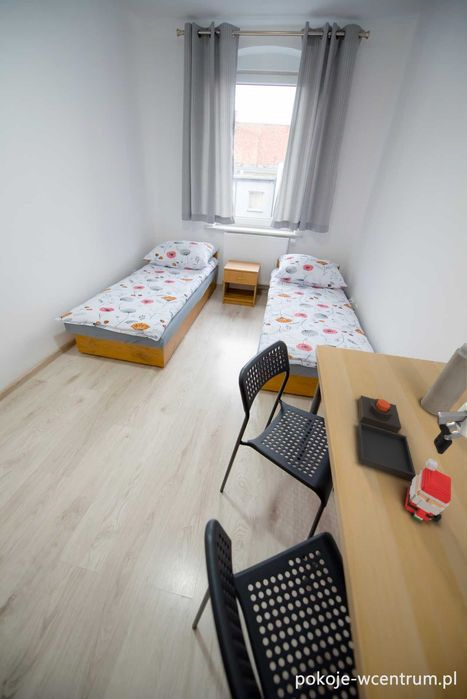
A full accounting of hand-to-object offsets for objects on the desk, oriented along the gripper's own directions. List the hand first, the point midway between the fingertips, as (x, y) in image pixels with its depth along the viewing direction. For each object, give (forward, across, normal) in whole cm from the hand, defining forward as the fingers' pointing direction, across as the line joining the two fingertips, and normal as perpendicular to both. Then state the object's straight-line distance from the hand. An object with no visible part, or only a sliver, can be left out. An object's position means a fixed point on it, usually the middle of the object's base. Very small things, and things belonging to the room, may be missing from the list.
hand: (464, 456), depth 55 cm
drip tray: (+19, +6, -13) cm, 24 cm away
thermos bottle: (+19, -13, -40) cm, 46 cm away
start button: (+15, +7, -27) cm, 31 cm away
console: (+19, +6, -27) cm, 33 cm away
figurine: (+19, -1, 0) cm, 19 cm away
